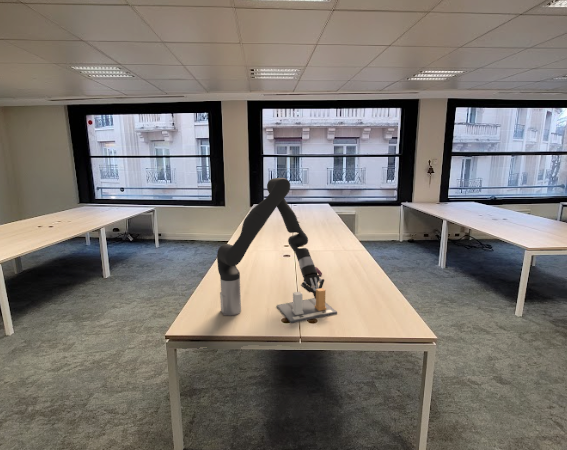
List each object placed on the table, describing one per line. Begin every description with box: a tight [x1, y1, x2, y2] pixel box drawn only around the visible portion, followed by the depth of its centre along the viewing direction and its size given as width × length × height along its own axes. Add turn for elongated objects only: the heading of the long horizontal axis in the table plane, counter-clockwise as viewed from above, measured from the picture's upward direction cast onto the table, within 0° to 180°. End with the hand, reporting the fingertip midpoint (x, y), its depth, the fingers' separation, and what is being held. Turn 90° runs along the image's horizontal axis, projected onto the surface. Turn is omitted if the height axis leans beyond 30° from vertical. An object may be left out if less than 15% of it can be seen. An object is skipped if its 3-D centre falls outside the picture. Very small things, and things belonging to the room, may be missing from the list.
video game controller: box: [315, 266, 323, 276], centre depth 205 cm, size 10×5×7 cm, turn 142°
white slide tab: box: [292, 291, 303, 315], centre depth 154 cm, size 4×4×10 cm
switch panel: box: [276, 297, 338, 324], centre depth 160 cm, size 24×18×1 cm
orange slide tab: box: [315, 287, 327, 311], centre depth 158 cm, size 4×4×10 cm
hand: (318, 299), depth 160 cm, fingers closed
